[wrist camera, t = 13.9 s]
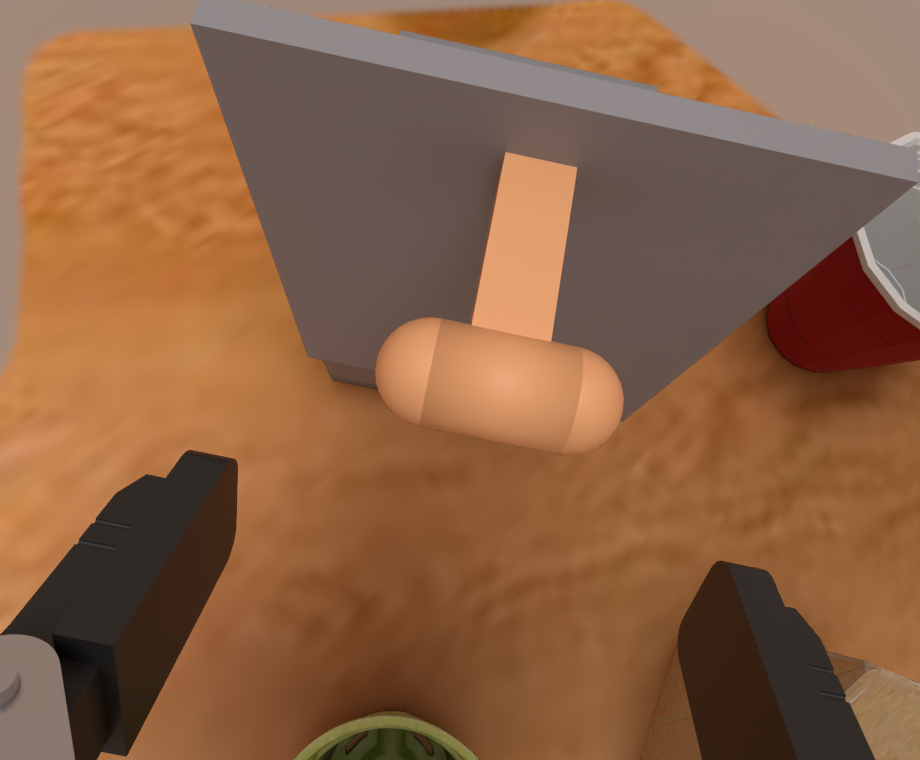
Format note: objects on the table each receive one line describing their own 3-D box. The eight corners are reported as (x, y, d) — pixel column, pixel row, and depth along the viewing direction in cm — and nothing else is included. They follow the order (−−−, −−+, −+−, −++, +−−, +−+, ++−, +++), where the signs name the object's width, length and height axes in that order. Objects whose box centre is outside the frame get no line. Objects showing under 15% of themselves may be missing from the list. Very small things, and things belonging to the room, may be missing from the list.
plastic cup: (922, 289, 41) (1128, 189, 29) (868, 444, 38) (1070, 402, 26) (762, 209, 41) (901, 79, 30) (697, 357, 39) (822, 278, 27)
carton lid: (203, -8, 13) (66, 314, 11) (916, 148, 13) (935, 493, 11) (312, 340, 30) (269, 493, 28) (624, 405, 30) (607, 561, 28)
